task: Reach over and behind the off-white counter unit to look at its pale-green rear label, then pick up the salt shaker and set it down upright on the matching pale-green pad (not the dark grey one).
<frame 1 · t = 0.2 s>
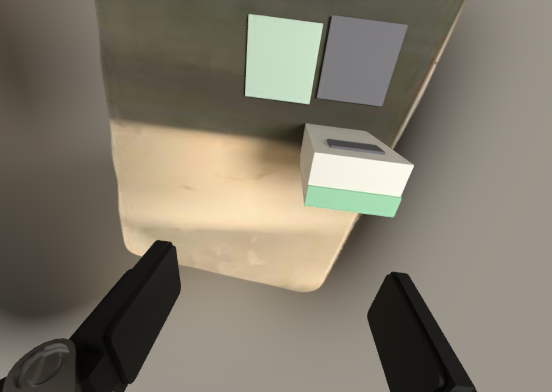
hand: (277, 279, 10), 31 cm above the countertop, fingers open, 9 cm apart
grey pad: (357, 64, 32), on the countertop
counter unit: (331, 145, 38), on the countertop
green pad: (281, 62, 32), on the countertop
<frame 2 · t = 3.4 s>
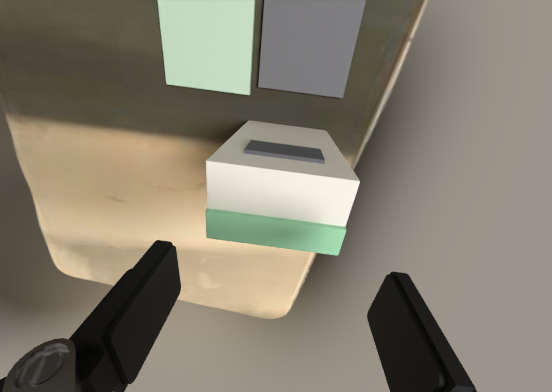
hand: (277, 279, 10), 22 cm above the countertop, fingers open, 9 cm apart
grey pad: (307, 42, 24), on the countertop
counter unit: (284, 148, 30), on the countertop
green pad: (208, 39, 25), on the countertop
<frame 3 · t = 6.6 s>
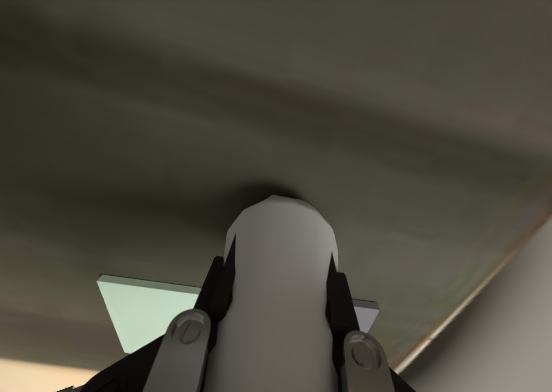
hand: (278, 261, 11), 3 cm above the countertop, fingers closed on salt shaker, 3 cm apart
salt shaker: (282, 221, 14), on the countertop, touching gripper
grey pad: (299, 332, 19), on the countertop
green pad: (173, 322, 19), on the countertop
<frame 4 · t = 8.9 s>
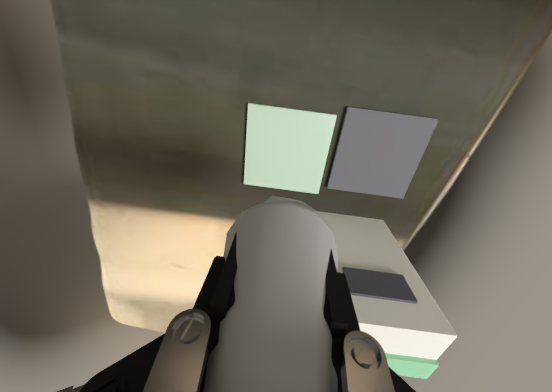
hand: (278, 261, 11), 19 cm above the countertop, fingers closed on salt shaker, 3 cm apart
salt shaker: (282, 222, 14), point 15 cm above the countertop, touching gripper
grey pad: (376, 155, 27), on the countertop
counter unit: (342, 232, 33), on the countertop
green pad: (286, 151, 28), on the countertop
when the fingers open (5 cm above the countertop, at t = 11.6 s): salt shaker drops 1 cm, resting on green pad.
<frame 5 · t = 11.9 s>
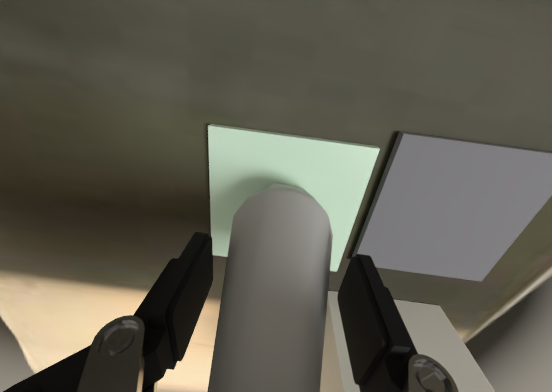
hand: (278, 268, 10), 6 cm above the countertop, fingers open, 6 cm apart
salt shaker: (283, 207, 15), point 1 cm above the countertop, touching green pad
grey pad: (443, 214, 15), on the countertop
counter unit: (372, 318, 21), on the countertop
green pad: (282, 205, 16), on the countertop
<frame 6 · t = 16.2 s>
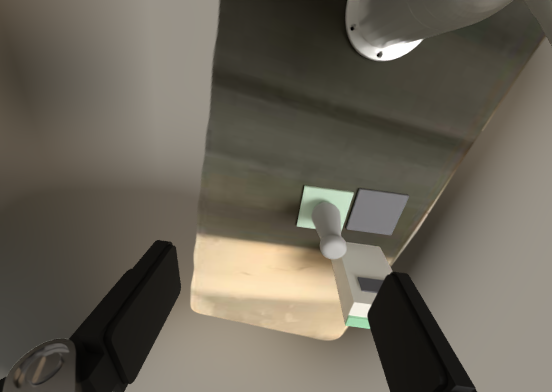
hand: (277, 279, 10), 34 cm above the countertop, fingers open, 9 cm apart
salt shaker: (324, 209, 47), resting on green pad
grey pad: (375, 211, 47), on the countertop
counter unit: (354, 253, 53), on the countertop
green pad: (323, 209, 48), on the countertop
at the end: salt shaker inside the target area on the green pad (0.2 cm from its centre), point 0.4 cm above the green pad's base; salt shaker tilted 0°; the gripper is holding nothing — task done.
